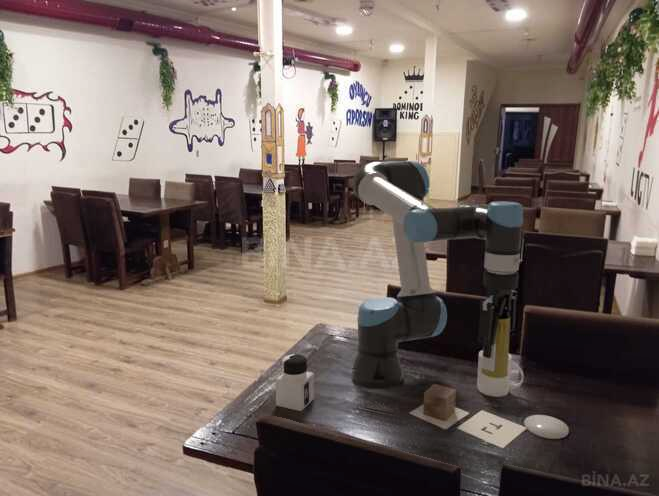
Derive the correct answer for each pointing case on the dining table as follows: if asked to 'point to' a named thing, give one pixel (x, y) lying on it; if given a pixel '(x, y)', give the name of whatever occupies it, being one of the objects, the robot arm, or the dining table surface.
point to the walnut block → (439, 402)
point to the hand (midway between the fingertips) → (494, 364)
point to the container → (294, 383)
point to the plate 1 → (443, 424)
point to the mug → (497, 380)
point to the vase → (500, 349)
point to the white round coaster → (546, 426)
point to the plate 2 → (492, 428)
